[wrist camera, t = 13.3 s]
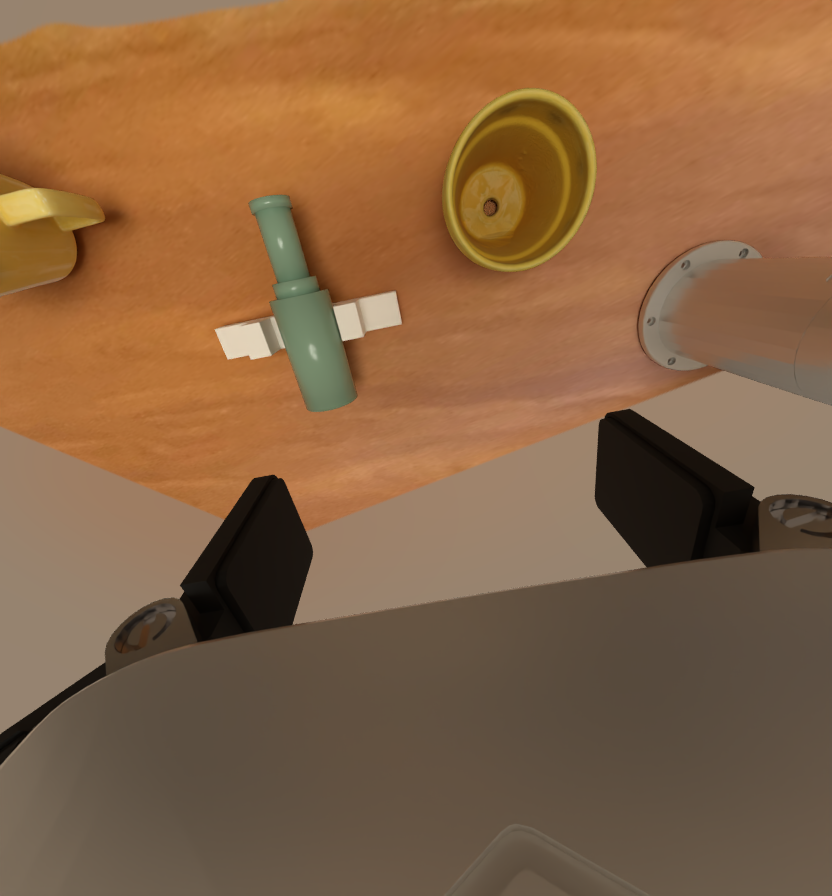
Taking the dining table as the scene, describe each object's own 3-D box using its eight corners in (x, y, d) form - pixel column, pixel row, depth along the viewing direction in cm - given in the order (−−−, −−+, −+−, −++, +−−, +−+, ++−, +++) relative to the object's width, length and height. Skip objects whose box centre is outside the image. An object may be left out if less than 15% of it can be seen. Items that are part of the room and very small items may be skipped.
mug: (11, 294, 35) (-131, 306, 25) (-50, 162, 30) (-252, 117, 21) (156, 296, 35) (69, 308, 26) (118, 167, 31) (-5, 125, 21)
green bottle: (344, 388, 39) (291, 205, 31) (366, 396, 35) (311, 188, 27) (299, 405, 37) (229, 211, 29) (317, 416, 33) (242, 194, 25)
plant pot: (506, 289, 36) (540, 297, 27) (415, 238, 34) (420, 229, 25) (568, 175, 32) (630, 143, 23) (468, 108, 30) (497, 43, 21)
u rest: (395, 290, 36) (394, 294, 31) (401, 321, 37) (401, 329, 33) (224, 325, 37) (199, 334, 32) (236, 354, 38) (214, 367, 33)
